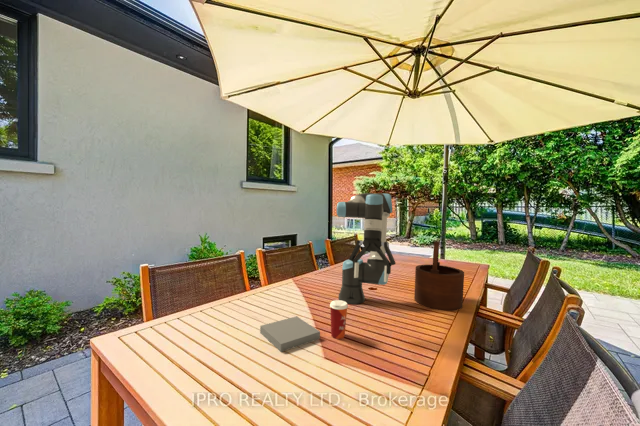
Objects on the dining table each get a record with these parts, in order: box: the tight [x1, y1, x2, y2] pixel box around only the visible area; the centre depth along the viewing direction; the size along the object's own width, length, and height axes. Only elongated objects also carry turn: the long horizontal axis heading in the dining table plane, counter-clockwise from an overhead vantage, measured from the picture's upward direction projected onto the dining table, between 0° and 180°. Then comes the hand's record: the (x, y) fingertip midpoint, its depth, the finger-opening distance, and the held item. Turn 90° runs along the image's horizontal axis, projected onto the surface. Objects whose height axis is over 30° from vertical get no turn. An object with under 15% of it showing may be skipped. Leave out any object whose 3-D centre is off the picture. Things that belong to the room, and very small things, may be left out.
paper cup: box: [329, 299, 349, 340], centre depth 115 cm, size 8×8×14 cm
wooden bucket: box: [413, 241, 465, 312], centre depth 159 cm, size 26×26×35 cm
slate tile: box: [259, 316, 321, 353], centre depth 114 cm, size 18×18×3 cm
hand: (370, 279), depth 117 cm, fingers open, 13 cm apart
